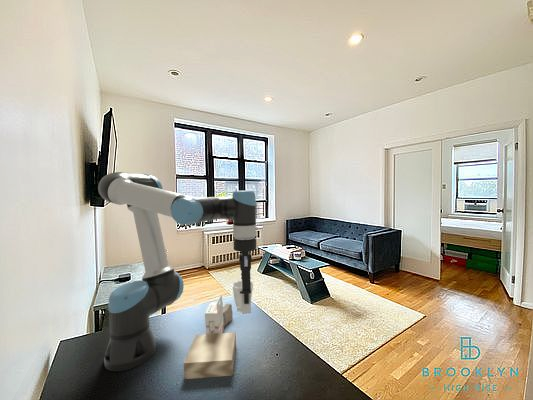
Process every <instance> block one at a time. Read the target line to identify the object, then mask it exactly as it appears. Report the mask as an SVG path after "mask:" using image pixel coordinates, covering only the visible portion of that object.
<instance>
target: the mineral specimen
mask: <svg viewBox="0 0 533 400" xmlns="http://www.w3.org/2000/svg"><path fill="white" fill-rule="evenodd" d="M232 320H233V306H232V303H231V302H230V303H229V302H228V303H226V304H225V305H224V306H223V323H224V328H225V327H226V326H227V324H228V323H229V322H231V321H232Z"/></svg>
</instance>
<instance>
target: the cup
mask: <svg viewBox="0 0 533 400" xmlns="http://www.w3.org/2000/svg"><path fill="white" fill-rule="evenodd" d="M250 283H251V298H252V296H253V289H254V283H253V281H250ZM240 291H242V281H241V280H237V281H234V282H232V292H233V299H234V303H235V308H236V311H237V312H239V313H242V294H240Z"/></svg>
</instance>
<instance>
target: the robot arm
mask: <svg viewBox="0 0 533 400" xmlns="http://www.w3.org/2000/svg"><path fill="white" fill-rule="evenodd" d="M97 189H98V194H99V196H100V197H101V198H102V199H103V200H105V201H106V202H108V203H112V204H115V205H119V206H121V205H125V204H126V207H127V210H129V211H130V212H132V213H133V218H134V225H135V227H136V232H137V237H138V242H139V247H140V248H139V249H140V252H141V257H142V262H143V267H144V274H142V277H141V280H134V281H131V282H128V283H124V284H122V285H120V286H118V287H117V288H115V289H114V290H112V292H110V295H109V297H108V305H107V309H108V321H109V322H108V324H109V325H108V326H109V340H108V341H109V342H108V344H107V347H106V350H105V353H104V358H103V361H104V363H103V364H104V368H105V369H106V370H108V371H110V372H123V371H127V370H131V369H135V368H136V367H139V366H140V365H142V364H144V363H145V362H147V361H148V360H149V359H151V357H153V355H154V354H155V353H156V350H157V341H156V338H155V336H154V334H153V331H152V329H151V326H150V316H152V315H153V314H156V313H158V312H159V311H161V310H163V309H165V308H166V307H168V306H171V305H172V304H173V303H174V302H176V301H178V300H179V299H180V298H181V296H182V294H183V292H184V285H185V284H184V280H183V277H182V275H180V274H179V273H178V272H176V271H175V269H174V267H173V266H171V265H170V264H169V260H168V255H167V251H166V247H165V242H164V237H163V232H162V228H161V223H160V218H159V214H160V215H163V216H167V217H170V218H172V219H173V220H174V221H175V222H176V223H177V224H179V225H194V224H198V223H202V222H208V221H209V222H210V221H215V220H232V237H233V250H234V251H235V252H240V254H239V255H238V258H239V260H238V261H239V269H240V271H241V273H240V275H241V277H240V279H241V280H240V281H242V291H240V294H242V312H241V313H242V314H244V315H246V314H252V304H251V303H252V297H251V283H250V282H251V278H252V277H251V269H252V260H253V259H252V254H251V253H250V252H254V251H255V250H257V238H256V237H257V231H258V230H259V227H257V201H256V200H257V199H256V192H255V191H253V190H234V191H232V196H228V197H227V196H209V197H208V196H207V197H203V196H202V197H200V196H199V197H198V196H197V197H196V196H191V195H187V194H183V193H179V192H174V191H170V190H164V189H163V185H162V183H161V181H160V180H159V179H158V178H157V177H155V176H153V175H151V174H146V173H135V172H134V173H132V172H123V171H115V172H111V173H108V174H106V175H104V176H103V177H102V178H101V179H100V181H99V182H98V186H97Z"/></svg>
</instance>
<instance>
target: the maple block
mask: <svg viewBox="0 0 533 400" xmlns="http://www.w3.org/2000/svg"><path fill="white" fill-rule="evenodd" d="M236 333H237V332H223V333H219V334H206V333H203V334H195V335H194V338H193V340H192V343H191V346H190V348H189V349H188V352H187V354H186V356H185V359H184V361H183V379H184V380H189V379H190V380H193V379H204V378H206V379H207V378H215V377H217V378H218V377H231V376H233V373H234V365H235V358H236V357H235V356H236V350H237V349H236V348H237V337H236V336H237V334H236Z"/></svg>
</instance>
